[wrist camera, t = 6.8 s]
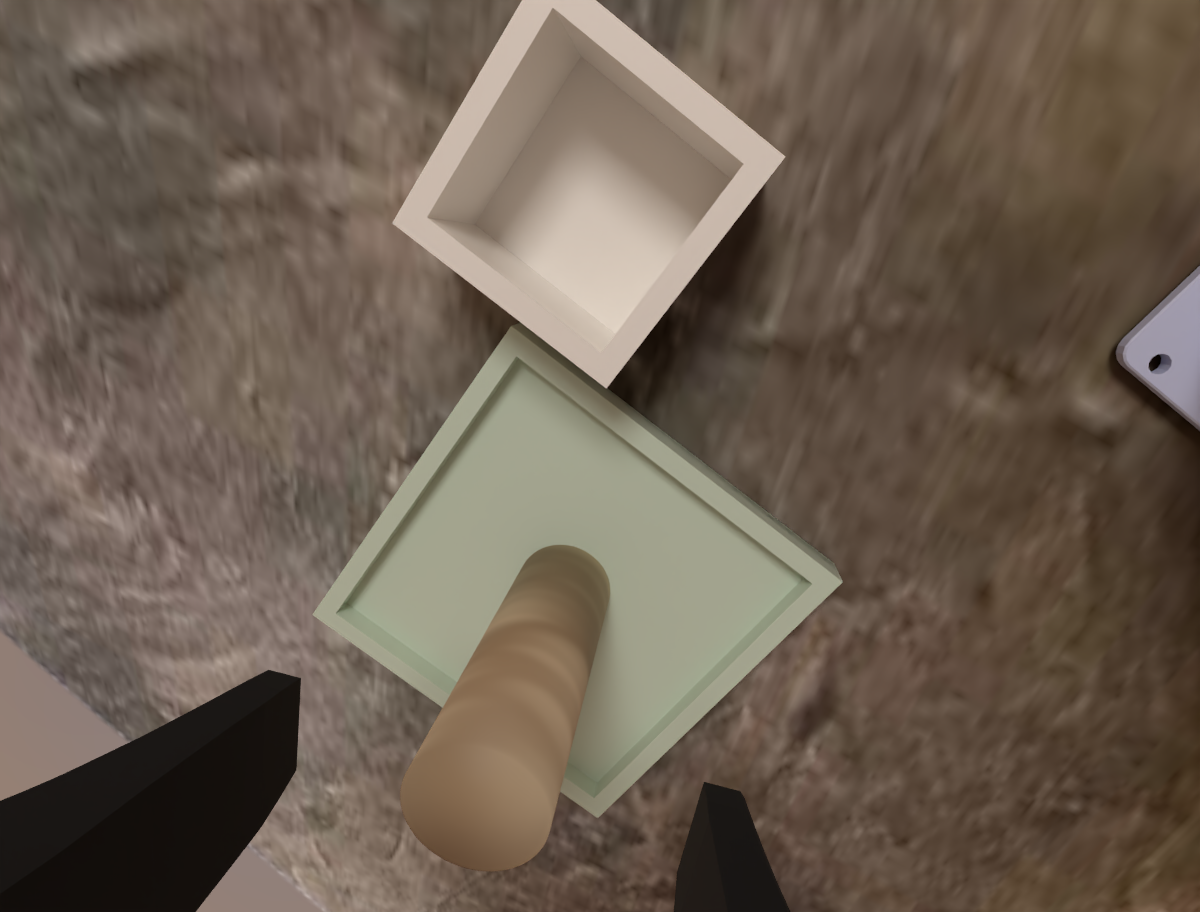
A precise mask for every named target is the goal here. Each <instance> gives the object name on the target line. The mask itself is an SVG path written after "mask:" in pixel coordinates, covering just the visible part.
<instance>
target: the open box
mask: <svg viewBox="0 0 1200 912" xmlns="http://www.w3.org/2000/svg"><path fill="white" fill-rule="evenodd" d="M784 158H785V156H784V155H783V154H781V153H780V152H779V151H778V150H776V149H775V148H774V147H773V146H772V145H770V144H769V143H768V142H767V141H766V140H764V139H763V138H762V137H761V136H760V135H758V134H757V133H756V132H755V131H753V130H752V129H751V128H750V127H749V126H747V125H746V124H745V123H744V122H743V121H741V120H740V119H739V118H738V117H736V116H735V115H734V114H733V113H732V112H730V111H729V110H728V109H727V108H726V107H724V106H723V105H722V104H721V103H720V102H718V101H717V100H716V99H715V98H713V97H712V96H711V95H710V94H709V93H707V92H706V91H705V90H704V89H703V88H701V87H700V86H699V85H698V84H696V83H695V82H694V81H693V80H692V79H690V78H689V77H688V76H687V75H686V74H684V73H683V72H682V71H681V70H680V69H678V68H677V67H676V66H675V65H673V64H672V63H671V62H670V61H669V60H667V59H666V58H665V57H664V56H663V55H661V54H660V53H659V52H658V51H657V50H655V49H654V48H653V47H652V46H650V45H649V44H648V43H647V42H646V41H644V40H643V39H642V38H641V37H640V36H638V35H637V34H636V33H635V32H633V31H632V30H631V29H630V28H629V27H627V26H626V25H625V24H624V23H623V22H621V21H620V20H619V19H618V18H617V17H615V16H614V15H613V14H612V13H610V12H609V11H608V10H607V9H606V8H604V7H603V6H602V5H601V4H600V3H598V2H597V1H596V0H522V2H521V3H520V5H519V7H518V8H517V10H516V12H515V14H514V15H513V17H512V19H511V20H510V22H509V24H508V26H507V27H506V29H505V31H504V32H503V34H502V36H501V38H500V39H499V41H498V43H497V44H496V46H495V48H494V50H493V51H492V53H491V55H490V56H489V58H488V60H487V62H486V63H485V65H484V67H483V68H482V70H481V72H480V74H479V75H478V77H477V79H476V80H475V82H474V84H473V86H472V87H471V89H470V91H469V92H468V94H467V96H466V98H465V99H464V101H463V103H462V104H461V106H460V108H459V110H458V111H457V113H456V115H455V116H454V118H453V120H452V122H451V123H450V125H449V127H448V128H447V130H446V132H445V134H444V135H443V137H442V139H441V140H440V142H439V144H438V146H437V147H436V149H435V151H434V152H433V154H432V156H431V158H430V159H429V161H428V163H427V164H426V166H425V168H424V170H423V171H422V173H421V175H420V176H419V178H418V180H417V182H416V183H415V185H414V187H413V188H412V190H411V192H410V194H409V195H408V197H407V199H406V200H405V202H404V204H403V206H402V207H401V209H400V211H399V212H398V214H397V216H396V218H395V219H394V221H393V224H394V225H395V226H397V227H398V228H399V229H401V230H402V231H403V232H404V233H406V234H407V235H408V236H410V237H411V238H412V239H413V240H415V241H416V242H417V243H419V244H420V245H421V246H423V247H424V248H425V249H426V250H428V251H429V252H430V253H432V254H433V255H434V256H435V257H437V258H438V259H439V260H441V261H442V262H443V263H444V264H446V265H447V266H448V267H450V268H451V269H452V270H454V271H455V272H456V273H457V274H459V275H460V276H461V277H463V278H464V279H465V280H466V281H468V282H469V283H470V284H472V285H473V286H474V287H476V288H477V289H478V290H479V291H481V292H482V293H483V294H485V295H486V296H487V297H488V298H490V299H491V300H492V301H494V302H495V303H496V304H498V305H499V306H500V307H501V308H503V309H504V310H505V311H507V312H508V313H509V314H510V315H512V316H513V317H514V318H516V319H517V320H518V321H520V322H521V323H522V324H523V325H525V326H526V327H527V328H529V329H530V330H531V331H532V332H534V333H535V334H536V335H538V336H539V337H540V338H542V339H543V340H544V341H545V342H547V343H548V344H549V345H551V346H552V347H553V348H554V349H556V350H557V351H558V352H560V353H561V354H562V355H563V356H565V357H566V358H567V359H569V360H570V361H571V362H573V363H574V364H575V365H576V366H578V367H579V368H580V369H582V370H583V371H584V372H585V373H587V374H588V375H589V376H591V377H592V378H593V379H595V380H596V381H597V382H598V383H600V384H601V385H602V386H604V387H605V388H606V389H607V387H608V386H609V385H610V383H611V382H612V381H613V379H614V378H615V377H616V376H617V374H618V373H619V372H620V370H621V369H622V368H623V367H624V365H625V364H626V363H627V361H628V360H629V359H630V357H631V356H632V355H633V354H634V352H635V351H636V350H637V348H638V347H639V346H640V345H641V343H642V342H643V341H644V339H645V338H646V337H647V335H648V334H649V333H650V332H651V330H652V329H653V328H654V326H655V325H656V324H657V322H658V321H659V320H660V319H661V317H662V316H663V315H664V313H665V312H666V311H667V310H668V308H669V307H670V306H671V304H672V303H673V302H674V300H675V299H676V298H677V297H678V295H679V294H680V293H681V291H682V290H683V289H684V288H685V286H686V285H687V284H688V282H689V281H690V280H691V278H692V277H693V276H694V275H695V273H696V272H697V271H698V269H699V268H700V267H701V266H702V264H703V263H704V262H705V260H706V259H707V258H708V256H709V255H710V254H711V253H712V251H713V250H714V249H715V247H716V246H717V245H718V243H719V242H720V241H721V240H722V238H723V237H724V236H725V234H726V233H727V232H728V231H729V229H730V228H731V227H732V225H733V224H734V223H735V221H736V220H737V219H738V218H739V216H740V215H741V214H742V212H743V211H744V210H745V209H746V207H747V206H748V205H749V203H750V202H751V201H752V199H753V198H754V197H755V196H756V194H757V193H758V192H759V190H760V189H761V188H762V186H763V185H764V184H765V183H766V181H767V180H768V179H769V177H770V176H771V175H772V174H773V172H774V171H775V170H776V168H777V167H778V166H779V164H780V163H781V162H782V161H783V159H784Z"/></svg>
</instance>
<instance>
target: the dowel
mask: <svg viewBox="0 0 1200 912" xmlns="http://www.w3.org/2000/svg"><path fill="white" fill-rule="evenodd" d="M609 598H610V583H609V579H608V576H607V574H606V572H605V570H604V568H603V567H602V565H601V564H600V563H599V562H598V561H597V560H596V559H595V558H594V557H593V556H592V555H591V554H589V553H587V552H586V551H584V550H582V549H580V548H577V547H574V546H569V545H552V546H548V547H544V548H542V549H540V550H538V551H536V552H535V553H533V554H532V555H531V556H530V557H529V558H528V559H527V560H526V562H525V563H524V565H523V566H522V568H521V570H520V572H519V573H518V575H517V577H516V579H515V580H514V582H513V584H512V586H511V588H510V589H509V591H508V593H507V595H506V596H505V598H504V600H503V602H502V604H501V605H500V607H499V609H498V611H497V612H496V614H495V616H494V618H493V619H492V621H491V623H490V625H489V627H488V628H487V630H486V632H485V634H484V635H483V637H482V639H481V641H480V643H479V644H478V646H477V648H476V650H475V651H474V653H473V655H472V657H471V658H470V660H469V662H468V664H467V666H466V667H465V669H464V671H463V673H462V674H461V676H460V678H459V680H458V682H457V683H456V685H455V687H454V689H453V690H452V692H451V694H450V696H449V697H448V699H447V701H446V703H445V705H444V706H443V708H442V710H441V712H440V713H439V715H438V717H437V719H436V721H435V722H434V724H433V726H432V728H431V729H430V731H429V733H428V735H427V736H426V738H425V740H424V742H423V744H422V745H421V747H420V749H419V751H418V752H417V754H416V756H415V758H414V760H413V761H412V763H411V765H410V767H409V768H408V770H407V772H406V774H405V776H404V778H403V781H402V785H401V791H400V801H401V807H402V812H403V814H404V817H405V820H406V822H407V824H408V825H409V827H410V829H411V830H412V832H413V833H414V835H415V836H416V837H417V838H418V839H419V840H420V842H421V843H422V844H424V845H425V846H426V847H427V848H428V849H429V850H431V851H432V852H433V853H435V854H436V855H438V856H439V857H441V858H443V859H444V860H446V861H448V862H450V863H453V864H455V865H458V866H461V867H464V868H468V869H472V870H478V871H502V870H508V869H511V868H515V867H518V866H520V865H522V864H524V863H526V862H528V861H529V860H531V859H532V858H533V857H534V856H535V855H537V854H538V853H539V851H540V850H541V849H542V848H543V846H544V844H545V843H546V841H547V838H548V836H549V833H550V829H551V825H552V821H553V817H554V813H555V809H556V805H557V802H558V798H559V794H560V790H561V786H562V782H563V778H564V774H565V770H566V766H567V762H568V759H569V755H570V751H571V747H572V743H573V739H574V735H575V731H576V727H577V723H578V719H579V716H580V712H581V708H582V704H583V700H584V696H585V692H586V688H587V684H588V680H589V677H590V673H591V669H592V665H593V661H594V657H595V653H596V649H597V645H598V641H599V637H600V634H601V630H602V626H603V622H604V618H605V614H606V610H607V606H608V602H609Z"/></svg>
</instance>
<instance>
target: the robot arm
mask: <svg viewBox="0 0 1200 912" xmlns="http://www.w3.org/2000/svg"><path fill="white" fill-rule="evenodd" d="M1158 354H1159V355H1160V357H1161V364H1160V365H1159V366H1158V368H1157V369H1155V370H1153V371H1150V370H1149V368H1148V367H1149V362H1150V360H1151V359H1152V358H1153V357H1154V356H1156V355H1158ZM1116 358H1117V361H1118V362H1119V363H1120V365H1121V366H1122V367H1124V368H1125V369H1126V370H1127V371H1128V372H1130V373H1131V374H1132V375H1133V376H1134V377H1136V378H1137V379H1138V380H1139V381H1140V382H1142V383H1143V384H1144V385H1145V386H1146V387H1148V388H1149V389H1150V390H1151V391H1152V392H1153V393H1155V394H1156V395H1157V396H1158V397H1159V398H1161V399H1162V400H1163V401H1164V402H1165V403H1167V404H1168V405H1169V406H1170V407H1171V408H1173V409H1174V410H1175V411H1176V412H1177V413H1179V414H1180V415H1181V416H1182V417H1183V418H1185V419H1186V420H1187V421H1188V422H1189V423H1191V424H1192V425H1193V426H1194V427H1195V428H1197V429H1198V430H1199V431H1200V266H1199V267H1198V268H1197V269H1196V270H1195V271H1193V272H1192V273H1191V274H1190V275H1189V276H1188V277H1187V278H1186V279H1185V280H1184V281H1183V282H1182V283H1181V284H1180V285H1179V286H1178V287H1177V288H1176V289H1174V290H1173V291H1172V292H1171V293H1170V294H1169V295H1168V296H1167V297H1166V298H1165V299H1164V300H1163V301H1162V302H1161V303H1160V304H1159V305H1158V306H1157V307H1156V308H1154V309H1153V310H1152V311H1151V312H1150V313H1149V314H1148V315H1147V316H1146V317H1145V318H1144V319H1143V320H1142V321H1141V322H1140V323H1139V324H1138V325H1137V326H1135V327H1134V328H1133V329H1132V330H1131V331H1130V332H1129V333H1128V334H1127V335H1126V336H1125V337H1124V338H1123V339H1122V340H1121V342H1120V343H1119V344H1118V346H1117V350H1116ZM300 685H301V678H298V677H294V676H290V675H286V674H283V673H279V672H275V671H271V670H268V671H266V672H264V673H262V674H260V675H258V676H256V677H254V678H252V679H250V680H248V681H246V682H244V683H242V684H240V685H238V686H237V687H235V688H233V689H231V690H229V691H227V692H225V693H224V694H222V695H220V696H218V697H216V698H214V699H212V700H211V701H209V702H207V703H205V704H203V705H201V706H199V707H197V708H196V709H194V710H192V711H190V712H188V713H186V714H184V715H182V716H180V717H178V718H177V719H175V720H173V721H171V722H169V723H167V724H165V725H163V726H161V727H159V728H157V729H155V730H154V731H152V732H150V733H148V734H146V735H144V736H142V737H140V738H138V739H136V740H134V741H132V742H130V743H128V744H125V745H123V746H121V747H119V748H117V749H115V750H113V751H111V752H109V753H107V754H105V755H103V756H101V757H98V758H96V759H94V760H92V761H90V762H88V763H86V764H84V765H82V766H80V767H78V768H75V769H73V770H71V771H69V772H67V773H65V774H63V775H60V776H58V777H56V778H54V779H51V780H49V781H47V782H45V783H42V784H40V785H38V786H35V787H33V788H30V789H28V790H26V791H23V792H21V793H19V794H16V795H14V796H11V797H9V798H6V799H4V800H2V801H0V912H196V911H197V909H198V908H199V907H200V905H201V904H202V903H203V902H204V900H205V899H206V898H207V897H208V895H209V894H210V893H211V891H212V890H213V889H214V888H215V886H216V885H217V884H218V882H219V881H220V880H221V879H222V877H223V876H224V875H225V873H226V872H227V871H228V870H229V868H230V867H231V866H232V864H233V863H234V862H235V860H236V859H237V858H238V857H239V855H240V854H241V853H242V851H243V850H244V849H245V848H246V846H247V845H248V844H249V842H250V841H251V840H252V839H253V837H254V836H255V835H256V833H257V832H258V831H259V829H260V828H261V827H262V825H263V823H264V822H265V820H266V819H267V817H268V816H269V814H270V812H271V811H272V809H273V808H274V806H275V804H276V803H277V801H278V800H279V798H280V796H281V795H282V793H283V791H284V790H285V788H286V786H287V785H288V783H289V781H290V780H291V778H292V776H293V775H294V773H295V771H296V766H297V746H298V726H299V705H300ZM674 912H790V910H789V908H788V906H787V903H786V901H785V899H784V897H783V895H782V892H781V890H780V888H779V886H778V883H777V881H776V879H775V876H774V874H773V871H772V869H771V867H770V864H769V862H768V859H767V857H766V854H765V852H764V849H763V847H762V844H761V842H760V839H759V836H758V834H757V831H756V828H755V826H754V823H753V820H752V818H751V815H750V812H749V809H748V806H747V804H746V801H745V798H744V797H743V795H742V793H741V792H740V791H737V790H733V789H729V788H725V787H721V786H718V785H714V784H710V783H706V782H704V784H703V788H702V791H701V794H700V798H699V801H698V804H697V808H696V811H695V814H694V818H693V821H692V824H691V828H690V831H689V835H688V838H687V841H686V845H685V848H684V851H683V855H682V858H681V861H680V865H679V868H678V871H677V881H676V893H675V905H674Z"/></svg>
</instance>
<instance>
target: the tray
mask: <svg viewBox="0 0 1200 912" xmlns="http://www.w3.org/2000/svg"><path fill="white" fill-rule="evenodd" d="M552 545H569V546H574V547H577V548H580V549H582V550H584V551H586V552H587V553H589V554H591V555H592V556H593V557H594V558H595V559H596V560H597V561H598V562H599V563H600V564H601V565H602V567H603V568H604V570H605V572H606V574H607V576H608V579H609V583H610V598H609V602H608V606H607V610H606V614H605V618H604V622H603V626H602V630H601V634H600V637H599V641H598V645H597V649H596V653H595V657H594V661H593V665H592V669H591V673H590V677H589V680H588V684H587V688H586V692H585V696H584V700H583V704H582V708H581V712H580V716H579V719H578V723H577V727H576V731H575V735H574V739H573V743H572V747H571V751H570V755H569V759H568V762H567V766H566V770H565V774H564V778H563V782H562V786H561V790H560V792H562V793H563V794H564V795H566V796H567V797H569V798H570V799H571V800H573V801H574V802H576V803H577V804H578V805H580V806H581V807H583V808H584V809H585V810H587V811H588V812H590V813H591V814H592V815H594V816H595V817H597V818H598V817H599V816H600V815H601V814H603V813H604V812H605V811H606V810H607V809H608V808H609V807H610V806H611V805H612V804H613V803H614V802H615V801H616V800H617V799H618V798H619V797H620V796H621V795H622V794H623V793H624V792H625V791H626V790H627V789H628V788H629V787H631V786H632V785H633V784H634V783H635V782H636V781H637V780H638V779H639V778H640V777H641V776H642V775H643V774H644V773H645V772H646V771H647V770H648V769H649V768H650V767H651V766H652V765H653V764H654V763H655V762H656V761H658V760H659V759H660V758H661V757H662V756H663V755H664V754H665V753H666V752H667V751H668V750H669V749H670V748H671V747H672V746H673V745H674V744H675V743H676V742H677V741H678V740H679V739H680V738H681V737H682V736H683V735H685V734H686V733H687V732H688V731H689V730H690V729H691V728H692V727H693V726H694V725H695V724H696V723H697V722H698V721H699V720H700V719H701V718H702V717H703V716H704V715H705V714H706V713H707V712H708V711H709V710H710V709H711V708H713V707H714V706H715V705H716V704H717V703H718V702H719V701H720V700H721V699H722V698H723V697H724V696H725V695H726V694H727V693H728V692H729V691H730V690H731V689H732V688H733V687H734V686H735V685H736V684H737V683H738V682H740V681H741V680H742V679H743V678H744V677H745V676H746V675H747V674H748V673H749V672H750V671H751V670H752V669H753V668H754V667H755V666H756V665H757V664H758V663H759V662H760V661H761V660H762V659H763V658H764V657H765V656H766V655H768V654H769V653H770V652H771V651H772V650H773V649H774V648H775V647H776V646H777V645H778V644H779V643H780V642H781V641H782V640H783V639H784V638H785V637H786V636H787V635H788V634H789V633H790V632H791V631H792V630H793V629H795V628H796V627H797V626H798V625H799V624H800V623H801V622H802V621H803V620H804V619H805V618H806V617H807V616H808V615H809V614H810V613H811V612H812V611H813V610H814V609H815V608H816V607H817V606H818V605H819V604H820V603H821V602H823V601H824V600H825V599H826V598H827V597H828V596H829V595H830V594H831V593H832V592H833V591H834V590H835V589H836V588H837V587H838V586H839V585H840V584H841V583H842V582H843V581H842V579H841V577H840V575H839V573H838V570H837V568H836V566H835V564H834V563H833V562H832V561H830V560H829V559H828V558H826V557H825V556H824V555H823V554H821V553H820V552H819V551H817V550H816V549H815V548H814V547H812V546H811V545H810V544H808V543H807V542H806V541H804V540H803V539H802V538H801V537H799V536H798V535H797V534H795V533H794V532H793V531H792V530H790V529H789V528H788V527H786V526H785V525H784V524H783V523H781V522H780V521H779V520H777V519H776V518H775V517H773V516H772V515H771V514H770V513H768V512H767V511H766V510H764V509H763V508H762V507H761V506H759V505H758V504H757V503H755V502H754V501H753V500H751V499H750V498H749V497H748V496H746V495H745V494H744V493H742V492H741V491H740V490H739V489H737V488H736V487H735V486H733V485H732V484H731V483H729V482H728V481H727V480H726V479H724V478H723V477H722V476H720V475H719V474H718V473H717V472H715V471H714V470H713V469H711V468H710V467H709V466H708V465H706V464H705V463H704V462H702V461H701V460H700V459H698V458H697V457H696V456H695V455H693V454H692V453H691V452H689V451H688V450H687V449H686V448H684V447H683V446H682V445H680V444H679V443H678V442H676V441H675V440H674V439H673V438H671V437H670V436H669V435H667V434H666V433H665V432H664V431H662V430H661V429H660V428H658V427H657V426H656V425H654V424H653V423H652V422H651V421H649V420H648V419H647V418H645V417H644V416H643V415H642V414H640V413H639V412H638V411H636V410H635V409H634V408H633V407H631V406H630V405H629V404H627V403H626V402H625V401H623V400H622V399H621V398H620V397H618V396H617V395H616V394H614V393H613V392H612V391H611V390H609V389H608V388H607V389H606V388H605V387H604V386H602V385H601V384H600V383H598V382H597V381H596V380H595V379H593V378H592V377H591V376H589V375H588V374H587V373H585V372H584V371H583V370H582V369H580V368H579V367H578V366H576V365H575V364H574V363H573V362H571V361H570V360H569V359H567V358H566V357H565V356H563V355H562V354H561V353H560V352H558V351H557V350H556V349H554V348H553V347H552V346H551V345H549V344H548V343H547V342H545V341H544V340H543V339H542V338H540V337H539V336H538V335H536V334H535V333H534V332H532V331H531V330H530V329H529V328H527V327H526V326H525V325H523V324H522V323H521V322H520V323H518V324H515V325H512V326H511V327H510V328H509V330H508V331H507V333H506V334H505V336H504V337H503V338H502V340H501V341H500V343H499V344H498V346H497V347H496V349H495V350H494V352H493V353H492V354H491V356H490V357H489V359H488V360H487V362H486V363H485V365H484V366H483V368H482V369H481V370H480V372H479V373H478V375H477V376H476V378H475V379H474V381H473V382H472V384H471V385H470V386H469V388H468V389H467V391H466V392H465V394H464V395H463V397H462V398H461V400H460V401H459V402H458V404H457V405H456V407H455V408H454V410H453V411H452V413H451V414H450V416H449V417H448V418H447V420H446V421H445V423H444V424H443V426H442V427H441V429H440V430H439V432H438V433H437V434H436V436H435V437H434V439H433V440H432V442H431V443H430V445H429V446H428V448H427V449H426V450H425V452H424V453H423V455H422V456H421V458H420V459H419V461H418V462H417V464H416V465H415V466H414V468H413V469H412V471H411V472H410V474H409V475H408V477H407V478H406V480H405V481H404V482H403V484H402V485H401V487H400V488H399V490H398V491H397V493H396V494H395V496H394V497H393V498H392V500H391V501H390V503H389V504H388V506H387V507H386V509H385V510H384V511H383V513H382V514H381V516H380V517H379V519H378V520H377V522H376V523H375V525H374V526H373V527H372V529H371V530H370V532H369V533H368V535H367V536H366V538H365V539H364V541H363V542H362V543H361V545H360V546H359V548H358V549H357V551H356V552H355V554H354V555H353V557H352V558H351V559H350V561H349V562H348V564H347V565H346V567H345V568H344V570H343V571H342V573H341V574H340V575H339V577H338V578H337V580H336V581H335V583H334V584H333V586H332V587H331V589H330V590H329V591H328V593H327V594H326V596H325V597H324V599H323V600H322V602H321V603H320V605H319V606H318V607H317V609H316V610H315V612H314V613H313V616H315V617H316V618H318V619H319V620H320V621H322V622H323V623H325V624H326V625H327V626H329V627H330V628H332V629H333V630H334V631H336V632H337V633H339V634H340V635H341V636H343V637H344V638H346V639H347V640H348V641H350V642H351V643H353V644H354V645H355V646H357V647H358V648H360V649H361V650H362V651H364V652H365V653H367V654H368V655H369V656H371V657H372V658H374V659H375V660H376V661H378V662H379V663H381V664H382V665H384V666H385V667H386V668H388V669H389V670H391V671H392V672H393V673H395V674H396V675H398V676H399V677H400V678H402V679H403V680H405V681H406V682H407V683H409V684H410V685H412V686H413V687H414V688H416V689H417V690H419V691H420V692H421V693H423V694H424V695H426V696H427V697H428V698H430V699H431V700H433V701H434V702H435V703H437V704H438V705H440V706H441V707H442V708H443V706H444V705H445V703H446V701H447V699H448V697H449V696H450V694H451V692H452V690H453V689H454V687H455V685H456V683H457V682H458V680H459V678H460V676H461V674H462V673H463V671H464V669H465V667H466V666H467V664H468V662H469V660H470V658H471V657H472V655H473V653H474V651H475V650H476V648H477V646H478V644H479V643H480V641H481V639H482V637H483V635H484V634H485V632H486V630H487V628H488V627H489V625H490V623H491V621H492V619H493V618H494V616H495V614H496V612H497V611H498V609H499V607H500V605H501V604H502V602H503V600H504V598H505V596H506V595H507V593H508V591H509V589H510V588H511V586H512V584H513V582H514V580H515V579H516V577H517V575H518V573H519V572H520V570H521V568H522V566H523V565H524V563H525V562H526V560H527V559H528V558H529V557H530V556H531V555H532V554H533V553H535V552H536V551H538V550H540V549H542V548H544V547H548V546H552Z"/></svg>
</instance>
